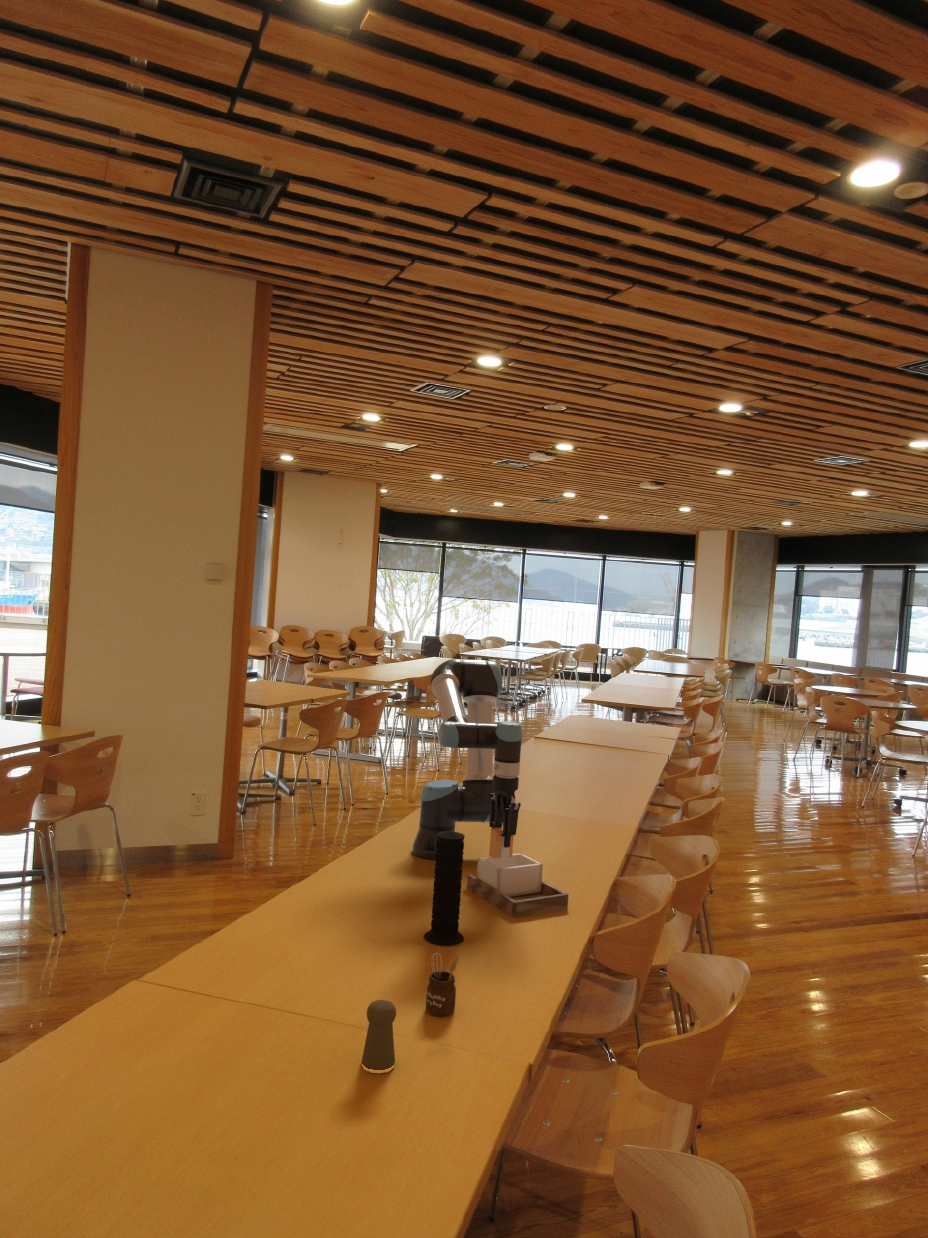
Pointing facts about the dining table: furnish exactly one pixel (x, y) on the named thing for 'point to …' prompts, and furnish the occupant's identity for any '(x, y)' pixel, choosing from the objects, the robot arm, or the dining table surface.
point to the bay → (521, 899)
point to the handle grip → (447, 890)
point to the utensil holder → (441, 991)
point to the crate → (509, 869)
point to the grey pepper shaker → (379, 1036)
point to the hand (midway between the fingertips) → (500, 855)
